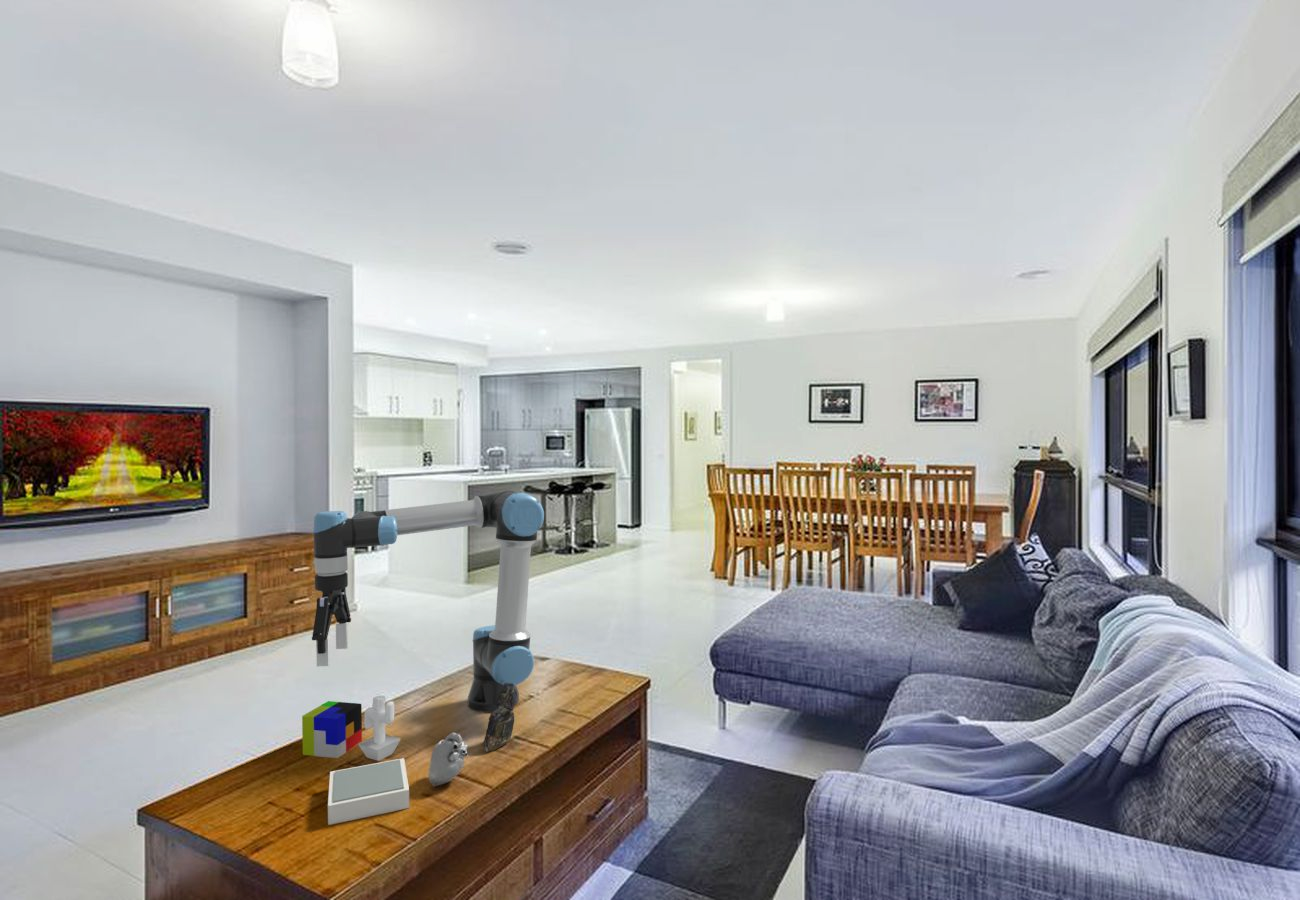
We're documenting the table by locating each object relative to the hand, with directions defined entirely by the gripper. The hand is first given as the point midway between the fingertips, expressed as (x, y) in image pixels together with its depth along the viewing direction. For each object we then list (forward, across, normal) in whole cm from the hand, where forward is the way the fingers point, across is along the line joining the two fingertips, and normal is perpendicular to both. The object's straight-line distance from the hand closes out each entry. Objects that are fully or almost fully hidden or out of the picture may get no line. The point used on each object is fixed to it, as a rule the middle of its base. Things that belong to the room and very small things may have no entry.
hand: (332, 656), depth 172 cm
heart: (+26, +16, +30) cm, 43 cm away
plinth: (+25, +22, +14) cm, 37 cm away
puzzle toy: (+26, -5, -2) cm, 26 cm away
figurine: (+26, +1, +11) cm, 28 cm away
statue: (+26, -2, +41) cm, 48 cm away
